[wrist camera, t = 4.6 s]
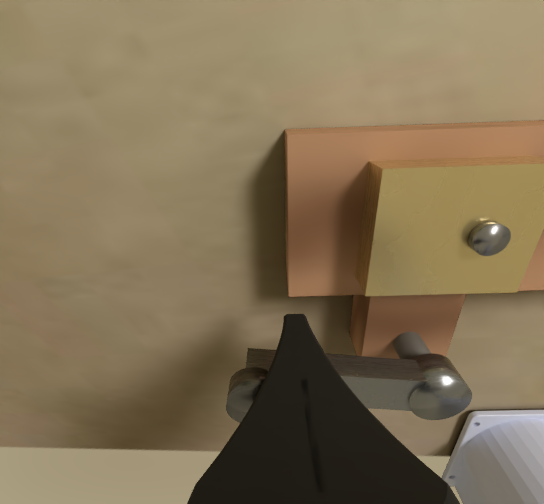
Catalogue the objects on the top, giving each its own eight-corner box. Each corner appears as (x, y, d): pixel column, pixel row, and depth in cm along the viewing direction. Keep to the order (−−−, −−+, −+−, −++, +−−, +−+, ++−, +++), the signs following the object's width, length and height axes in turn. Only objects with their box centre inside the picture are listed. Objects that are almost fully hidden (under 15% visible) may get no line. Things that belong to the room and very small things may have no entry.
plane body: (585, 327, 17) (673, 389, 14) (286, 334, 18) (291, 397, 14) (710, 114, 12) (910, 118, 8) (284, 129, 12) (290, 140, 9)
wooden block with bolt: (491, 272, 13) (524, 298, 11) (355, 276, 13) (368, 302, 11) (533, 155, 11) (583, 165, 9) (368, 160, 11) (387, 171, 9)
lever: (461, 355, 13) (495, 401, 11) (441, 392, 14) (469, 441, 12) (234, 339, 12) (226, 384, 10) (232, 378, 13) (225, 426, 11)
